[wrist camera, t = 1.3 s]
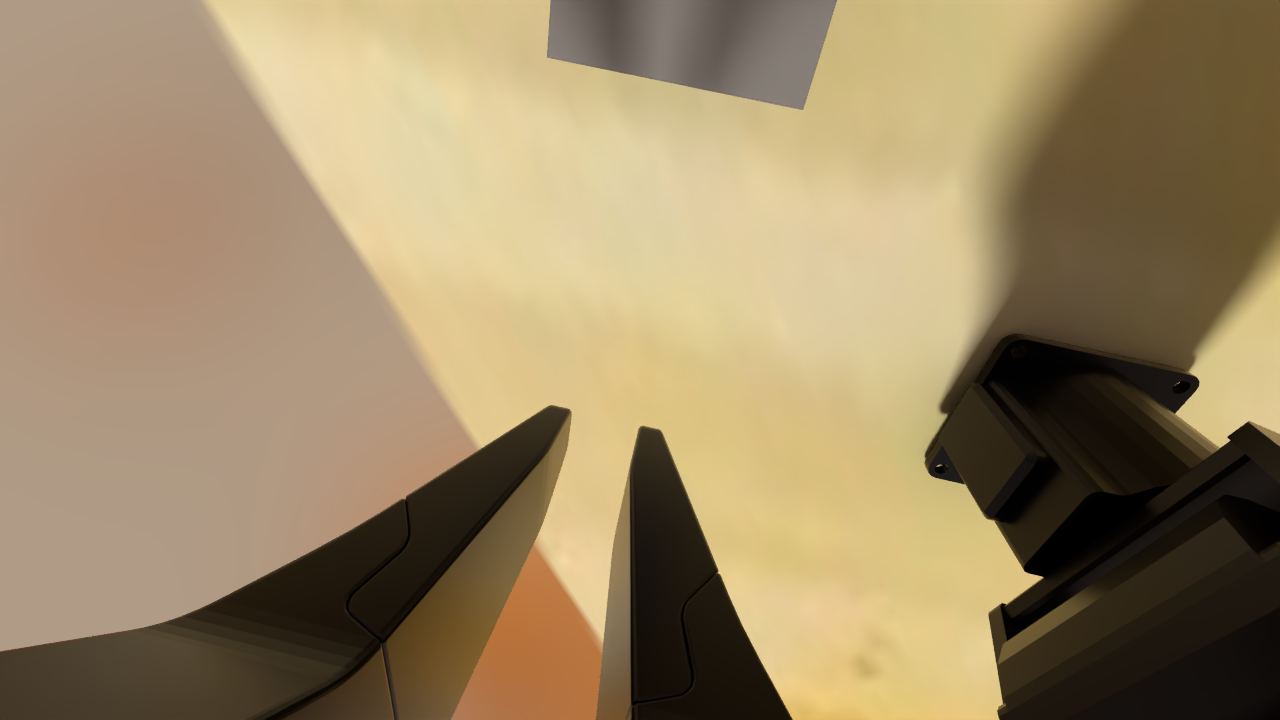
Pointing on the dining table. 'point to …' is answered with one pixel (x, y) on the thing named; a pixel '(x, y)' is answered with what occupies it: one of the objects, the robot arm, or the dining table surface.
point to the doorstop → (699, 42)
